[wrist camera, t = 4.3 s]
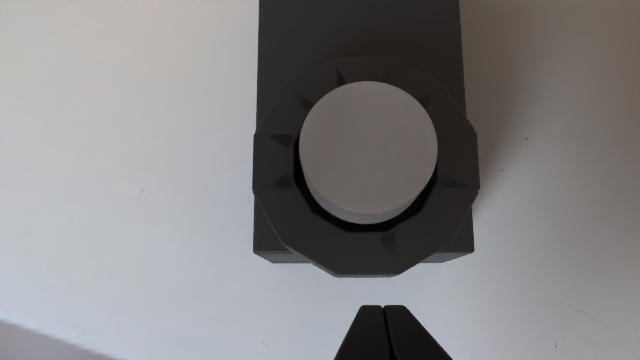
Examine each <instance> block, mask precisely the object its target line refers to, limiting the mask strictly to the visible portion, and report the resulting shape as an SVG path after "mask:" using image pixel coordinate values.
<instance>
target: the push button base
mask: <svg viewBox="0 0 640 360" xmlns="http://www.w3.org/2000/svg"><path fill="white" fill-rule="evenodd" d="M362 81H374V82H381V83H386V84H389V85H392V86H395V87H397V88H399V89H401V90H403V91H405V92H406V93H408V94H409V95H411V96H412V97H413V98H414V99H416V100H417V101H418V102H419V104H420V105H421V106H422V107H423V108H424V110H425V111H426V112H427V114H428V116H429V117H430V119H431V121H432V124H433V126H434V129H435V133H436V136H437V145H438V150H437V160H436V165H435V168H434V171H433V173H432V176H431V178H430V180H429V181H428V183H427V184H426V186H425V187H424V189H423V190H422V191H421V192H420V194H419V195H418V196H417V197H416V199H415V200H414V201H413V202H412V203H411V205H410V206H409V207H408V208H407V209H405V210H404V211H403V212H402V213H400V214H399V215H397V216H395V217H393V218H391V219H389V220H386V221H384V222H380V223H375V224H356V223H351V222H347V221H344V220H341V219H339V218H337V217H335V216H333V215H332V214H330V213H329V212H327V211H326V210H325V209H324V208H323V207H321V206H320V204H319V203H318V202H317V201H316V200H315V198H314V197H313V195H312V194H311V192H310V190H309V188H308V186H307V183H306V180H305V176H304V172H303V169H302V165H301V160H300V154H299V141H300V134H301V130H302V127H303V124H304V121H305V119H306V117H307V116H308V114H309V112H310V111H311V109H312V108H313V107H314V105H315V104H316V103H317V102H318V101H319V100H320V99H321V98H323V97H324V96H325V95H326V94H328V93H329V92H331V91H332V90H334V89H336V88H338V87H341V86H343V85H346V84H349V83H354V82H362ZM479 189H480V179H479V163H478V148H477V133H476V131H474V128H473V126H472V125H471V123H470V122H469V120H468V119H467V117H466V105H465V89H464V73H463V57H462V40H461V24H460V8H459V0H259V30H258V71H257V111H256V131H255V134H254V142H253V181H252V190H253V194H254V233H253V252H254V253H255V254H257V255H258V256H260V257H262V258H264V259H266V260H268V261H270V262H272V263H312V264H313V265H315V266H317V267H318V268H320V269H322V270H324V271H325V272H327V273H329V274H330V275H332V276H334V277H338V278H365V277H394V276H396V275H399V274H401V273H403V272H405V271H406V270H408V269H410V268H411V267H413V266H415V265H416V264H418V263H443V262H446V261H449V260H452V259H455V258H458V257H461V256H464V255H467V254H471V253H473V252H474V234H473V218H472V204H473V202H474V200H475V198H476V196H477V195H478V191H479Z"/></svg>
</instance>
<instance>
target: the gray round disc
mask: <svg viewBox="0 0 640 360" xmlns="http://www.w3.org/2000/svg"><path fill="white" fill-rule="evenodd" d="M437 150H438V145H437V136H436V133H435V129H434V126H433V124H432V121H431V119H430V117H429V116H428V114H427V112H426V111H425V110H424V108H423V107H422V106H421V105H420V104H419V102H418V101H417V100H416V99H414V98H413V97H412V96H411V95H409V94H408V93H406V92H405V91H403V90H401V89H399V88H397V87H395V86H392V85H389V84H386V83H381V82H374V81H362V82H354V83H349V84H346V85H343V86H341V87H338V88H336V89H334V90H332V91H331V92H329V93H328V94H326V95H325V96H324V97H323V98H321V99H320V100H319V101H318V102H317V103H316V104H315V105H314V107H313V108H312V109H311V111H310V112H309V114H308V116H307V117H306V119H305V121H304V124H303V127H302V130H301V134H300V141H299V154H300V160H301V165H302V169H303V172H304V176H305V180H306V183H307V186H308V188H309V190H310V192H311V194H312V195H313V197H314V198H315V200H316V201H317V202H318V203H319V204H320V206H321V207H323V208H324V209H325V210H326V211H327V212H329V213H330V214H332V215H333V216H335V217H337V218H339V219H341V220H344V221H347V222H351V223H356V224H375V223H380V222H384V221H386V220H389V219H391V218H393V217H395V216H397V215H399V214H400V213H402V212H403V211H404V210H405V209H407V208H408V207H409V206H410V205H411V203H412V202H413V201H414V200H415V199H416V197H417V196H418V195H419V194H420V192H421V191H422V190H423V189H424V187H425V186H426V184H427V183H428V181H429V180H430V178H431V176H432V173H433V171H434V168H435V165H436V160H437Z"/></svg>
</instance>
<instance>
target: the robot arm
mask: <svg viewBox="0 0 640 360" xmlns="http://www.w3.org/2000/svg"><path fill="white" fill-rule="evenodd" d="M334 360H453V359H452V358H451V357H450V356H449V355H448V354H447V352H446V351H445V350H444V349H443V348H442V347H441V346H440V345H439V344H438V342H437V341H436V340H435V339H434V338H433V337H432V336H431V335H430V333H429V332H428V331H427V330H426V329H425V328H424V327H423V326H422V325H421V323H420V322H419V321H418V320H417V319H416V318H415V317H414V316H413V314H412V313H411V312H410V311H409V310H408V309H407V308H406V307H405V306H403V305H386V306H384V308H382V307H381V306H380V305H363V306H361V307H360V309H359V311H358V313H357V315H356V317H355V319H354V320H353V322H352V324H351V326H350V328H349V330H348V332H347V334H346V336H345V338H344V340H343V342H342V344H341V346H340V348H339V350H338V352H337V354H336V356H335V358H334Z"/></svg>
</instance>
